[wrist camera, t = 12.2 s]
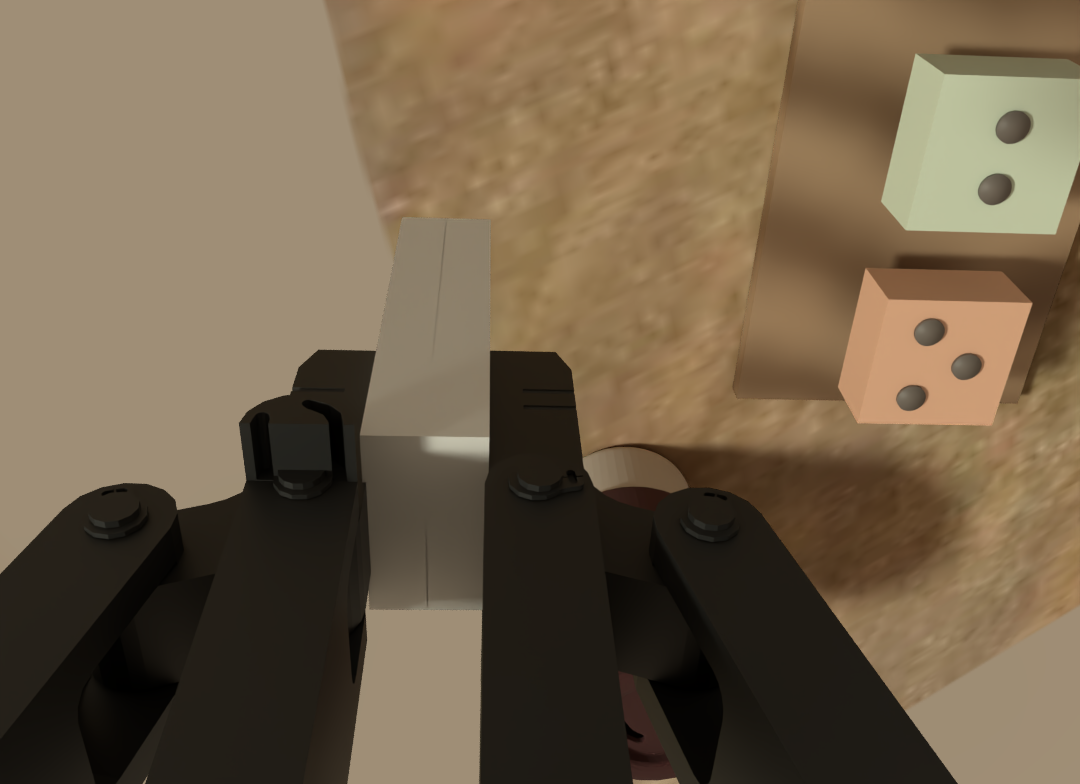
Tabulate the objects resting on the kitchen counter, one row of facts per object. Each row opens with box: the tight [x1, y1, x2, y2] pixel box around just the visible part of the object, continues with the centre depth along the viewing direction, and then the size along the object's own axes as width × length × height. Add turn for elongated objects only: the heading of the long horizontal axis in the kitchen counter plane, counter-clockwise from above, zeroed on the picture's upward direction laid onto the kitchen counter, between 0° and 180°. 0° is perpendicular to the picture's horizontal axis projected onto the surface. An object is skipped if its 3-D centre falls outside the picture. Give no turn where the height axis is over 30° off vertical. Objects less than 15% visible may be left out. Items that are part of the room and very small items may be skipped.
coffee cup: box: [583, 447, 689, 780], centre depth 48 cm, size 10×10×15 cm
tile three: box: [838, 268, 1032, 425], centre depth 44 cm, size 6×6×3 cm
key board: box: [733, 0, 1080, 404], centre depth 43 cm, size 28×14×2 cm, turn 177°
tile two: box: [881, 53, 1080, 234], centre depth 40 cm, size 6×6×3 cm
